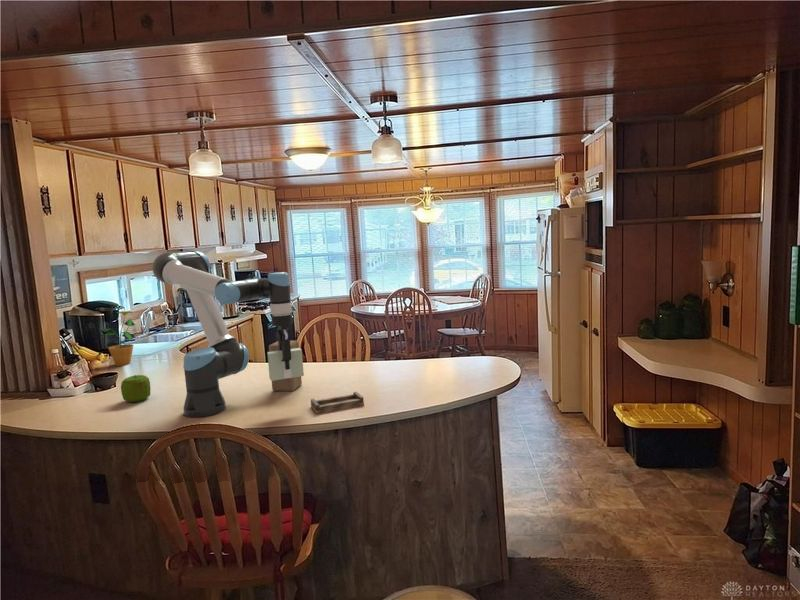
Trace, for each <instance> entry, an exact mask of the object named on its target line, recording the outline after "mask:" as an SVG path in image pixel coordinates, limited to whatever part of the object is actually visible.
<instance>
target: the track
mask: <svg viewBox="0 0 800 600" xmlns="http://www.w3.org/2000/svg"><path fill="white" fill-rule="evenodd" d="M364 401H365V400H364V396H363V395H361V394H360V393H359V392H357V391H353V393H352V394H346V395H340V396H333V397H328V398H322V399H317V400H315V398H310V407H311V408H312V410H313V409H314V410H313V411H314V413H316V414H317V415H318V414H322V413H328V412H334V411H339V410H345V409H350V408H355V407H361V406H365V402H364Z"/></svg>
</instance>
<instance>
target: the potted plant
mask: <svg viewBox="0 0 800 600" xmlns="http://www.w3.org/2000/svg"><path fill="white" fill-rule="evenodd" d="M116 313H117V314H121V315H123V316H124V317H123V318H126V316H127V315H129V313H130V314H132V313H134V312H133V311H116ZM124 325H125V326H128V327H127V328H126V330H125V331H123V327H124ZM132 326H136V324H135V323H134V322H133V320H132V319H131V318H129V319H128V320H127V321H126V322H125V320H123V322H122V325H121V329H120V332H119V333H120V334H119V335H118V334H116V331H114V330H113V328H105V329H104V328H99V329H98V330H99V331H100V332H101V333H102V334H103V335H105V336H108V337H109V336H110V337H111V336H112V337H117V338H118V339H119V344H117V345H113V346H109V347H108V351H109V353H110V355H111V357H112V360H113V363H114V365H115V367H122V366H126V365H130V364H131V361H132V355H133V350H134V344H131V343H126V344H123V343H122V337H123V338H126V339H128V340H131V341H132V340H133V339H134V337H136V336H135V334H134V333H133V334H132V333H130V332H128V329H129V327H132ZM111 330H112V332H111Z"/></svg>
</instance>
